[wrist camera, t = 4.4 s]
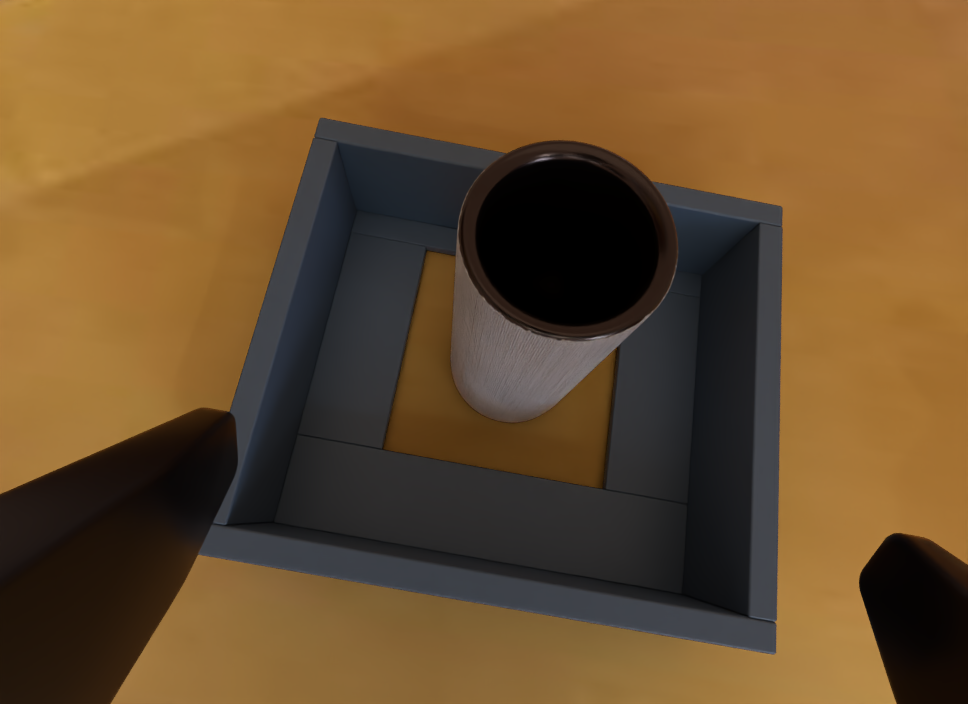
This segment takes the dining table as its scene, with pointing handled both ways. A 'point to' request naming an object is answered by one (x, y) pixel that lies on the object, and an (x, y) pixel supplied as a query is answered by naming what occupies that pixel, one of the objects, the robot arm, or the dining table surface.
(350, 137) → the basket
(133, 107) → the dining table surface
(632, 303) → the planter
